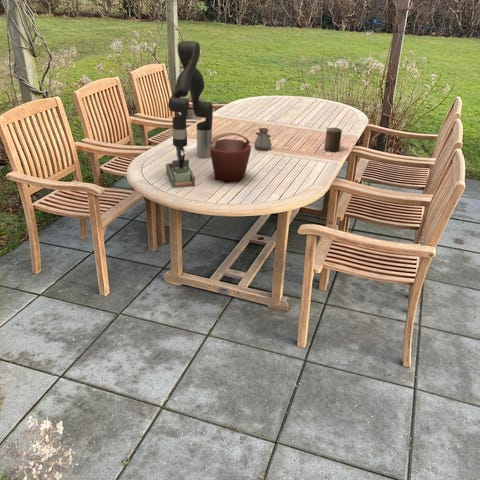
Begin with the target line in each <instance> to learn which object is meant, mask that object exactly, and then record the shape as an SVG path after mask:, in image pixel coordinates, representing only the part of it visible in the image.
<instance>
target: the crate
mask: <svg viewBox="0 0 480 480" xmlns="http://www.w3.org/2000/svg"><path fill="white" fill-rule="evenodd" d="M172 163H173V168H172V174H173V176H174V179H175V183H183V182H190V172H189V167H190V165H189V164H190V160H189V159H184V162H183V164H186V165H187V167H183V169H180V168H179V167H178V168H175V165H179V160H178V159H175V160H172Z"/></svg>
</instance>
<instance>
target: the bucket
mask: <svg viewBox="0 0 480 480" xmlns="http://www.w3.org/2000/svg"><path fill="white" fill-rule="evenodd" d="M229 136H238V137H240V138H243V139H244V140H245V141H243V140H241V139H231V138H230V139H229V138H224V137H229ZM221 138H222V139H221ZM250 143H251V141H250V139H248V137H246V136H244V135H241V134H240V133H237V132H226V133H225V132H224V133H221V134H218V135H215V136H212V142H210V146H209V148H210V153H211V157H210V158H211V159H210V160H211V163H212V168H213V174H214V179H215V180H216V181H218V182H222V183H225V184H228V183H229V184H231V182H232V183H239V182H241V181H242V180H243V179H245V176H246V170H247V168H248V163H249V160H250V156H251V155H250V154H251V149H252V148H251V147H252V146H251V144H250Z"/></svg>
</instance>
